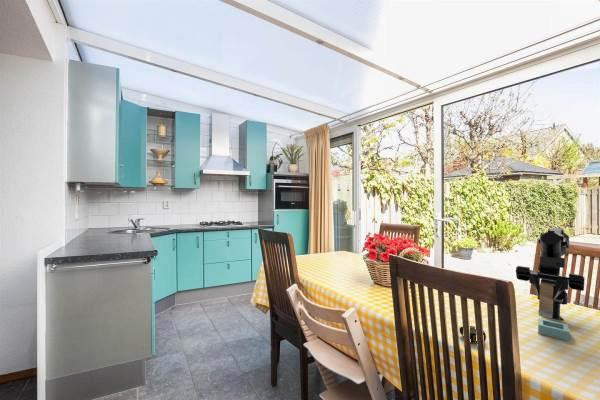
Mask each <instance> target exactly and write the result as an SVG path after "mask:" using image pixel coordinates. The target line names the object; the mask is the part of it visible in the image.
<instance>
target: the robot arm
mask: <svg viewBox="0 0 600 400" xmlns="http://www.w3.org/2000/svg"><path fill="white" fill-rule="evenodd" d="M538 244H539V245H540V250H541V255H540V256H539V261H538V267H537V270H532V269H530V266H523V265H517V266H516V267H515V276H516V279H517V280H519V281H525V282H527V281H528V282H529V284H532V285H533V287H534V288H535V292H536V295H537V300H539V297H540V284H541V282H542V283H547V284H553V285H554V293H553V316H552V319H553V320H554V319H555V320H559V321H560V320H561V321H564V318H563V317H562V316H561V305H563V306H565V305H568V293H567V291H569V289H571V290H574V291H579V292H580V291H581V292H582V291H585V278H586V277H585V276H584V275H583V274H576V273H568V277H567V276H562V275H561V274H560V272H561V268H562V269H564V268H565V267H566V258H565V257H563V256H565V255H566V254H567V250H568V249H570V236H569V235H568V234H567V233H566V232H565V231H564V229H563V228H557V227H549V228H548V230H547V232H544V233H542V234H541V235H540V236H539V238H538ZM538 313H539V310H538Z"/></svg>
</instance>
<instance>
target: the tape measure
mask: <svg viewBox="0 0 600 400" xmlns="http://www.w3.org/2000/svg"><path fill="white" fill-rule="evenodd" d="M469 326H470V339H471V344H472V343H473V344H478V343H477V341H476V329H475V327H476V326H473V325H469ZM459 333H460V335H461V336H462V337H463V326H460V327H459ZM483 335H484V343H485V342H486V340H487V336H486V335H487V334H486V332H485V330H483Z"/></svg>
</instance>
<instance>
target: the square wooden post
mask: <svg viewBox="0 0 600 400" xmlns="http://www.w3.org/2000/svg"><path fill="white" fill-rule="evenodd" d="M540 283H541V284H540V297H539V301H538V303H539V304H538V311H539V312H538V316H539V317H543V318H547V319H553V318H552V316H553V293H554V285H553V284H547V283H542V282H541V281H540Z"/></svg>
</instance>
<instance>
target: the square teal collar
mask: <svg viewBox="0 0 600 400" xmlns="http://www.w3.org/2000/svg"><path fill="white" fill-rule="evenodd" d="M537 320H538V322H537V323H538V325H537V328H538V329H537V332H538V333H537V334H540V335H544V336H548V337H551V338H554V339H555V338H556V339H559V340H564V341H568V342H569V341H570V330H569V326H568V323H562V322H559V321H558V322H557V321H553V320H548V319H543V318H540V317H539V318H538V319H537Z"/></svg>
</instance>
